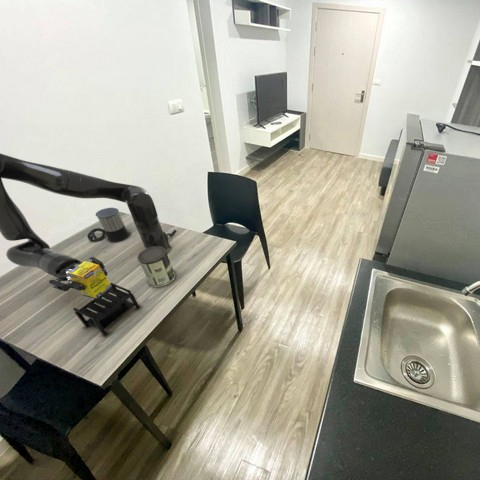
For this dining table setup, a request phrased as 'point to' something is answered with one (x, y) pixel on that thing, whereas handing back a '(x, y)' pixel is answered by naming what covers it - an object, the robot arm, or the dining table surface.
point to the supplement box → (90, 279)
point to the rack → (107, 308)
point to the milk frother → (110, 226)
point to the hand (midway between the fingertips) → (94, 280)
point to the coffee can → (156, 266)
